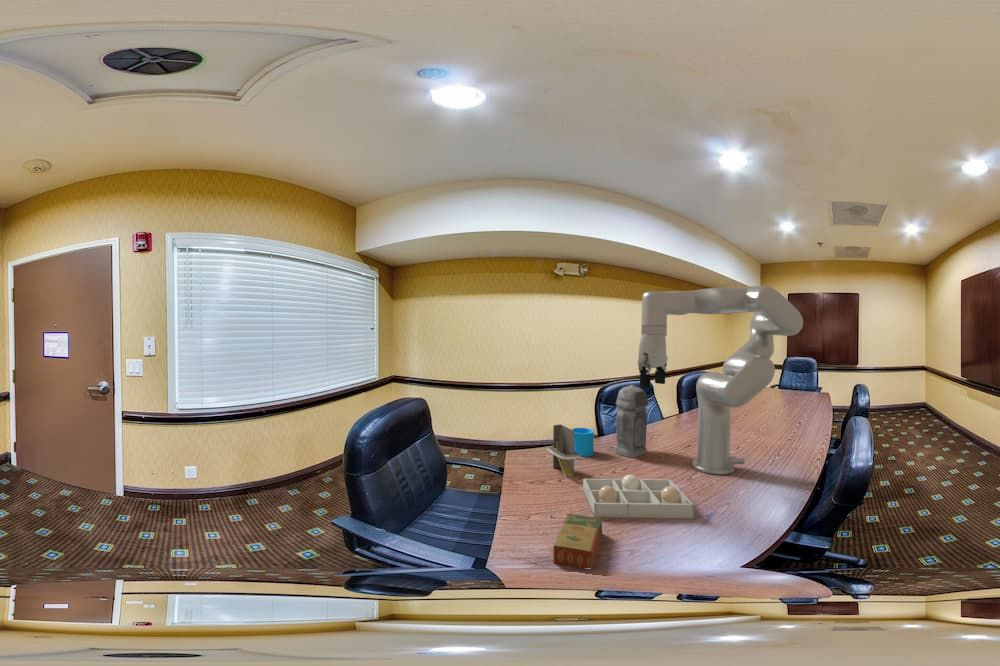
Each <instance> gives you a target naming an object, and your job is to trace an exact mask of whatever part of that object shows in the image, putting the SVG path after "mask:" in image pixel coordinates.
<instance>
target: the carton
mask: <svg viewBox="0 0 1000 666" xmlns="http://www.w3.org/2000/svg"><path fill="white" fill-rule="evenodd" d="M602 519H603V518H600V517H594V516H586V515H579V514H573V513H567V515H566V517H565V520H564V522H563V525H562V527H561V529H560V531H559V533H558V536H557V538H556V540H555V543H554V545H553V549H552V552H553V556H552V557H553V564H558V565H562V566H567V567H573V568H577V567H581V568H580V569H582V568H591V569H592V568H593V569H594V565H595V563H596V562H595V561H596V558H597V554H598V550H599V547H600V543H601V539H602V536H603V520H602ZM593 569H592V570H593Z"/></svg>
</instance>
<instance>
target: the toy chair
mask: <svg viewBox="0 0 1000 666" xmlns="http://www.w3.org/2000/svg"><path fill="white" fill-rule="evenodd" d="M571 429H572V428H568V427H567V426H565V425H563V424H554V425H553V434H552V435H553V436H552V437H553V438H552V439H553V440H552V441H553V442H552V443H553V445H549V446H547V447H546V450H547V451H548V452H550V453H551V454H552V469H559V468H560V469H561V470H562V473H563V476H564V477H565V478H566V479H567V478H570V477H574V476H575V459H578V458H580V457H581V456H580V454H578V453H577V452H575V451H574V431H573V430H571Z"/></svg>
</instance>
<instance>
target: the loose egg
mask: <svg viewBox="0 0 1000 666" xmlns="http://www.w3.org/2000/svg"><path fill="white" fill-rule="evenodd" d="M622 479H623V480H622V485H623V490H638V487H639V480H638V479H639V478H638V477H637V476H636V475H633V474H626V475H624V476H623V478H622Z"/></svg>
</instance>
